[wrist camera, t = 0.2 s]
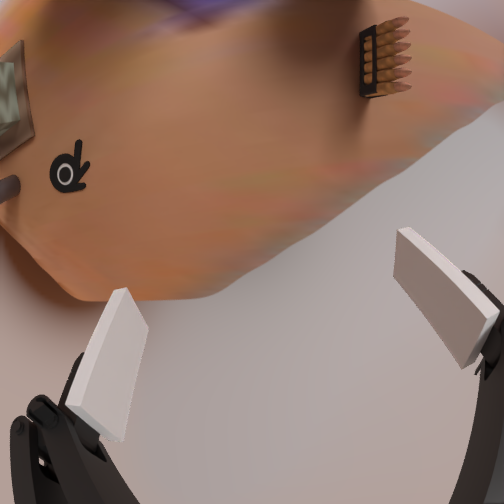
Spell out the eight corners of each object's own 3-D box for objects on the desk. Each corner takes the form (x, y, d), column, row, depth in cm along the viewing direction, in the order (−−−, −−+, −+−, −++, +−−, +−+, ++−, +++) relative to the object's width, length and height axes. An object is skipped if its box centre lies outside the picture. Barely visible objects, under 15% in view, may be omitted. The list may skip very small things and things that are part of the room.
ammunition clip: (370, 98, 32) (417, 95, 22) (359, 96, 32) (404, 91, 21) (370, 34, 27) (414, 14, 17) (359, 31, 27) (400, 8, 17)
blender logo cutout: (75, 132, 32) (73, 132, 32) (104, 165, 35) (102, 166, 35) (46, 173, 35) (44, 175, 34) (72, 205, 38) (70, 206, 37)
